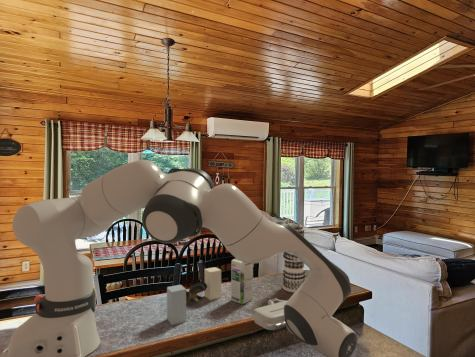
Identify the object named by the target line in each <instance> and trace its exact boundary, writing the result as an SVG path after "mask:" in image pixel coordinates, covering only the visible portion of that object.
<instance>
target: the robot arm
mask: <svg viewBox="0 0 475 357" xmlns="http://www.w3.org/2000/svg"><path fill="white" fill-rule="evenodd" d="M141 209H142V210H143V211H142V215H141V223H142V227H143V229H144V230H145V233H146V234H147V235H148V236H149V237H150V238H151V239H153V240H154V241H157V242H159V243H161V244H174V243H178V242H180V241H182V240H185V239H187V238H191V237H196V236H198V235H199V234H200V233H201V232H202V228H206V229H208V230H210V232H212V234H214V235H215V236H216V238H217V239H218V240H219V241H220V242H221V243H222V245H223V246H224V247H225V249H226V250H227V251H228V252H229V253H230V254H231V255H232V256H233V257H234V259H238V260H239V261H241V262H244V263H253V264H259V263H263V262H266V261H269V260H271V259H273V258H275V257H276V256H278V255H280V254H284V252H286V251H291V252H292V253H293V254H294V255H295V256H296V257H298V258H299V259H300V260H301V261H302V262H303V263H304V266H307V268H308V269H309V273H308V275H307V277H305V281H304V282H303V283H302V285H301V286H300V287H299V288H298V289H297V291H295V292H293V294H292V295H291V297H290V298H289V299H288V300H283V299H278V298H272V299H268V300H267V305H263V306H260V307H256V308H254V309H253V310H254V311H253V322H254V323H255V324H256V325H258V326H260V327H261V328H263V329H266V330H268V331H277V330H280V329H283V328H285V327H286V330H287V331H288V332H289V333H290V334H292V335H293V336H294V337H296V338H297V339H299V340H300V341H302V342H303V343H305V344H306V345H308V346H309V345H310V346H311V348H312V349H314V350H315V351H317V352H318V353H320V354H322V355H323V356H325V357H352V355H353V353H355V352H354V351H355V350H356V347H357V343H358V337H357V334H356V332H355V331H354V330H353V329H352V328H350V327H349V326H347V324H344V323H343V322H342V321H341V320H338V318H336V317H333V315H334V314H335V313H336V311H337V309H338V308H339V307H340V306H341V304H343V303H344V301H345V300H346V299H347V298H348V297H349V296H350V295H351V293H352V286H351V281H350V277H349V275H348V274H347V273H346V272H345V271H344V270H343V269H341V267H339V266H337V265H336V264H335V263H334V262H332V261H331V260H330V259H328V258H327V256H325V255H324V254H323V253H322V252H321V251H320V250H318V248H316V247H315V245H313V244H312V243H311V242H309V241H308V239H306V237H305V236H304V237H305V238H304V237H303V236H302V235H301V234H300V233H299V232H297V231H296V230H295V229H294V228H292V227H291V226H289V225H288V223H285V222H282V221H276V222H274V221H272V220H270V219H268V218H267V217H266V216H265V215H264V214H263V212H261V210H260V209H259V208H258V206H257V205H256V204H255V203H254V202H253V201H252V200H251V199H250V198H249V197H248V196H247V195H246V194H245V193H244V192H243V191H242V190H240V189H239V187H237V186H236V185H234V184H232V183H221V184H218V185H214V182H213V179H212V177H211V176H210V174H209V173H207V172H206V171H204V170H202V169H199V168H194V167H193V168H192V167H191V168H190V167H188V168H176V167H175V168H174V167H173V168H171V169H169V170H168V171H167V173H165V172H163V171H162V170H161V168H160V167H159V166H158V165H157V164H156V163H155V162H153V161H151V160H148V159H139V160H134V161H131V162H128V163H125V164H122V165H120V166H118V167H115V168H114V169H112V170H110V171H108V172H106V173H105V174H103V175H101V176H99V177H97V178H95V179H93V180H92V181H90V182H89V183H87V184H85V185H84V187H83V188H82V190H81V193H80V195H76V196H70V197H64V198H63V197H61V198H52V199H51V198H48V199H41V200H38V201H34V202H31V203H27V204H25V205H23V206H20V207H19V208H18V209H17V210H16V212H15V214H14V215H13V219H12V222H11V223H12V232H13V234H14V236H15V238H16V239H17V241H18V242H19V243H20V244H22V245H23V246H25V247H27V248H29V249H30V250H32V251H34V253H35V254H36V255H37V258H39V260H40V262H41V265H42V268H43V269H42V270H43V277H44V293H45V294H44V295H42V294H37V295H36V296H35V297H34V300H33V303H34V304H35V313H34V314H33V315H31V317H29V318H28V319H26V321H24V322H23V323H22V324H21V325H19V326H18V327H17V328H16V329H15V330H14V332H13V333H12V336H11V338H10V340H9V344H8V346H7V347H6V348H4V350H3V351H2V352H1V353H0V357H86V356H87V355H89V354H91V353H92V352H94V351H95V350H97V348H98V347H99V346H100V344H101V338H100V335H99V331H98V329H97V328H98V327H97V322H96V317H95V315H96V314H95V311H96V305H97V304H96V301H97V300H96V298H97V296H96V291H95V288H94V264H93V261H92V259H91V258H89V256H87V255H86V254H83V253H80V252H79V251H78V249H77V245H76V240H80V239H85V238H88V237H89V238H90V237H92V236H93V237H94V236H95V235H98V234H100V233H102V232H106V231H107V230H108V229H110V228H112V226H113V223H115V222H116V221H119V220H122V219H124V218H125V217H127V216H129V215H131V214H134V213H135V212H137V211H140V210H141Z"/></svg>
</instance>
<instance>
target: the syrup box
mask: <svg viewBox="0 0 475 357" xmlns="http://www.w3.org/2000/svg"><path fill="white" fill-rule="evenodd" d="M230 263H231V265H230V266H231V268H230V269H231V272H230V273H231V275H230V277H231V280H230V284H231V285H230V288H231V289H230V290H231V291H230V301H233V302H235V303H238V304H240V305H245V304H247V303H249V302H251V301H253V292H254V291H253V289H254V288H253V286H254V285H253V282H254V280H253V279H254V263H244V262H241V261H239V260H238V259H236V258H233V259H232V260H231V262H230Z"/></svg>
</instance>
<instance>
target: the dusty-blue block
mask: <svg viewBox="0 0 475 357" xmlns="http://www.w3.org/2000/svg"><path fill="white" fill-rule="evenodd" d="M186 291H187V289H186V288H185V287H184V286H183V285H182V284H177V285H172V286H171V285H170V286H166V319H167V321H168V322H169V324H170V325H171V326H174V325H178V324H181V323H185V322H187V306H186Z"/></svg>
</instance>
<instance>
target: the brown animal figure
mask: <svg viewBox="0 0 475 357" xmlns="http://www.w3.org/2000/svg"><path fill="white" fill-rule="evenodd" d="M206 288H207V284H206V283H205V281H204V282H203V281H198V282H197V283H194V284H192V285H191V286H190V288H189V289H188V291H187V290H186V307H187V306H188V305H189V303H191V300H193V301H195V302H197V303H198V304H199V303H200V301H199V299H198V297H199V298H202V296H201V295H199V294H200V293H202V292H205V290H206Z"/></svg>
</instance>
